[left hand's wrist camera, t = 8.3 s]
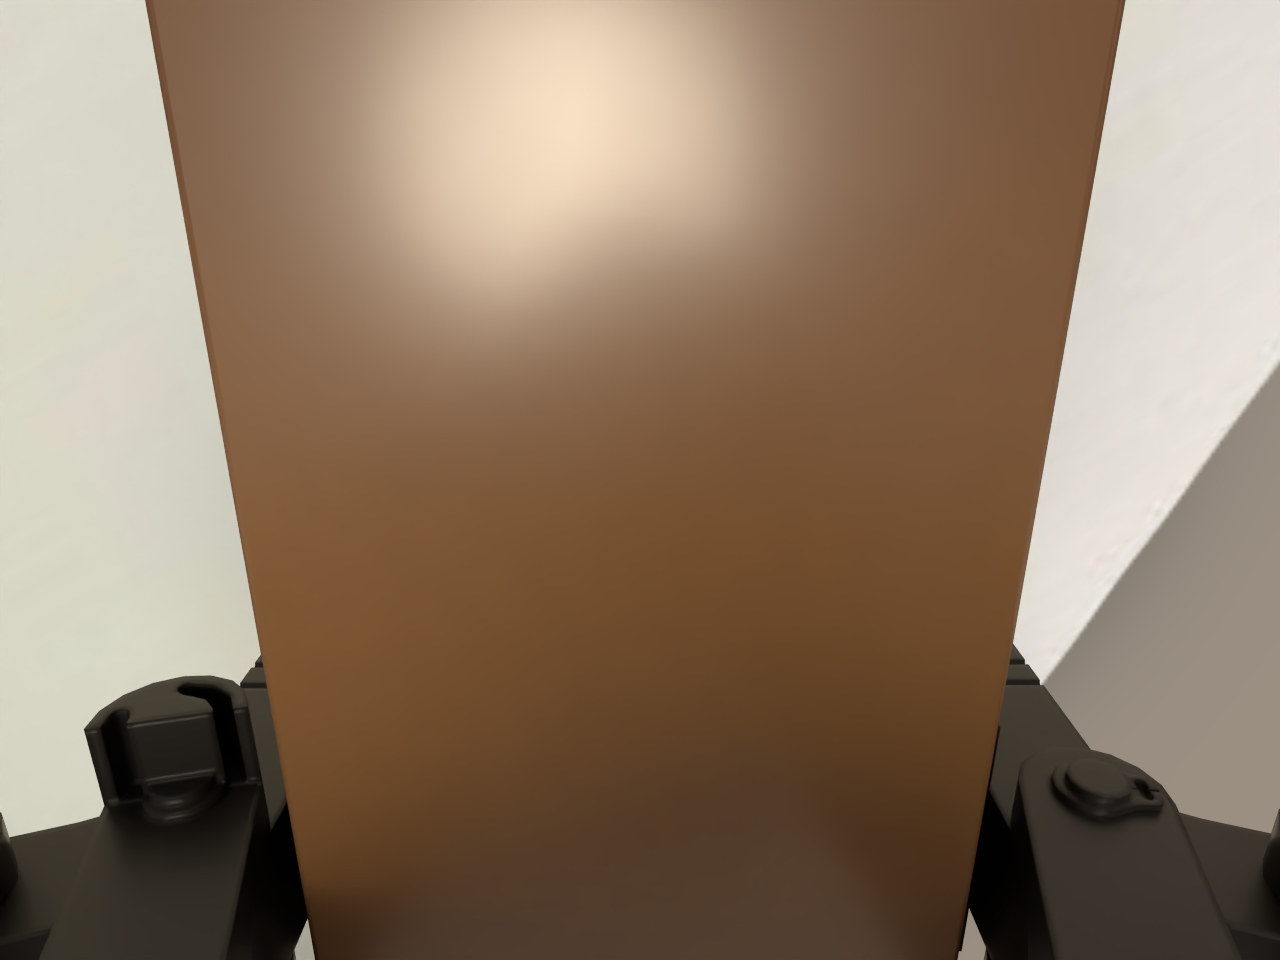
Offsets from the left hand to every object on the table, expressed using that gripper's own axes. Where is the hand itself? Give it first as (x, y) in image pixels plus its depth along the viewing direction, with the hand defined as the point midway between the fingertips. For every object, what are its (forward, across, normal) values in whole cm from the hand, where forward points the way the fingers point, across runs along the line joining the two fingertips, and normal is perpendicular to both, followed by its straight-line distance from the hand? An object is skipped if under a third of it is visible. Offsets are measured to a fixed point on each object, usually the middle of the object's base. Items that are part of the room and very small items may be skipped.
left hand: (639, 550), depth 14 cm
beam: (+1, 0, -26) cm, 26 cm away
